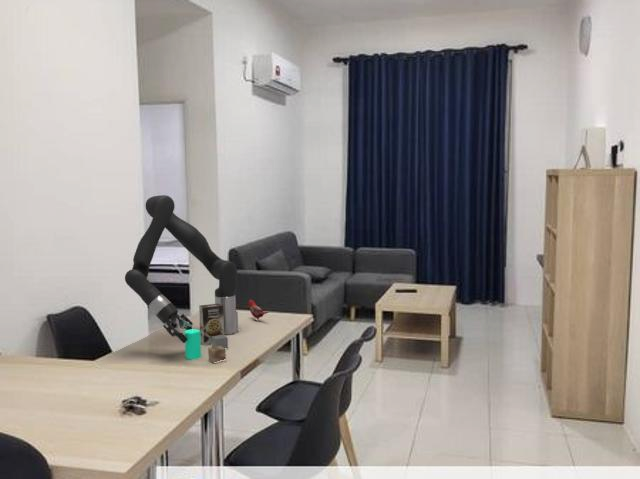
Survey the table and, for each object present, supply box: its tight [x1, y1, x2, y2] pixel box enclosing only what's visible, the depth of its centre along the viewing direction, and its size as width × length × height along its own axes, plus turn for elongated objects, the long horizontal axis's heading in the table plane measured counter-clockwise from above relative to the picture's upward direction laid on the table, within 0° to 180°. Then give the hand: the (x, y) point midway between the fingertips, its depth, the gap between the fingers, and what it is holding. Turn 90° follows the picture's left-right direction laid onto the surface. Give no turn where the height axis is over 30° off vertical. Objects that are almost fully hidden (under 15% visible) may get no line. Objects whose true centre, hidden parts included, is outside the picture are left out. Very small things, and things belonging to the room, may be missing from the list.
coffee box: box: [198, 303, 225, 346], centre depth 245 cm, size 9×6×16 cm
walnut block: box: [207, 346, 227, 364], centre depth 219 cm, size 5×5×5 cm
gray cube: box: [211, 335, 229, 349], centre depth 236 cm, size 5×5×5 cm
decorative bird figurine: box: [248, 299, 269, 320], centre depth 280 cm, size 3×18×10 cm, turn 40°
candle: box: [184, 327, 202, 360], centre depth 224 cm, size 6×6×12 cm
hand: (191, 338), depth 224 cm, fingers open, 8 cm apart
